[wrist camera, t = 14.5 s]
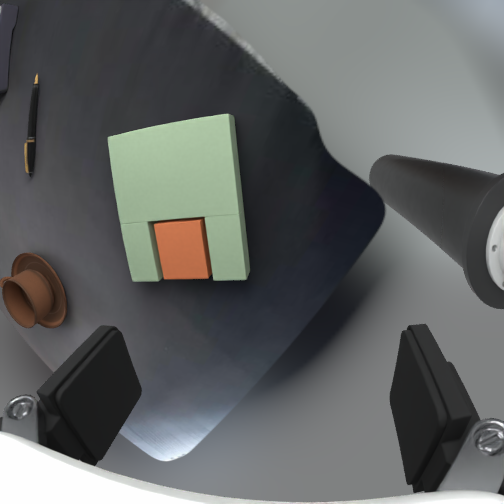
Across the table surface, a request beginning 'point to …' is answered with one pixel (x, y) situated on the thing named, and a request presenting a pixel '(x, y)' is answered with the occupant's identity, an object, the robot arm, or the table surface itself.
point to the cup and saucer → (34, 293)
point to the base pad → (181, 191)
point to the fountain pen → (31, 130)
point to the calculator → (6, 41)
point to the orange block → (183, 248)
